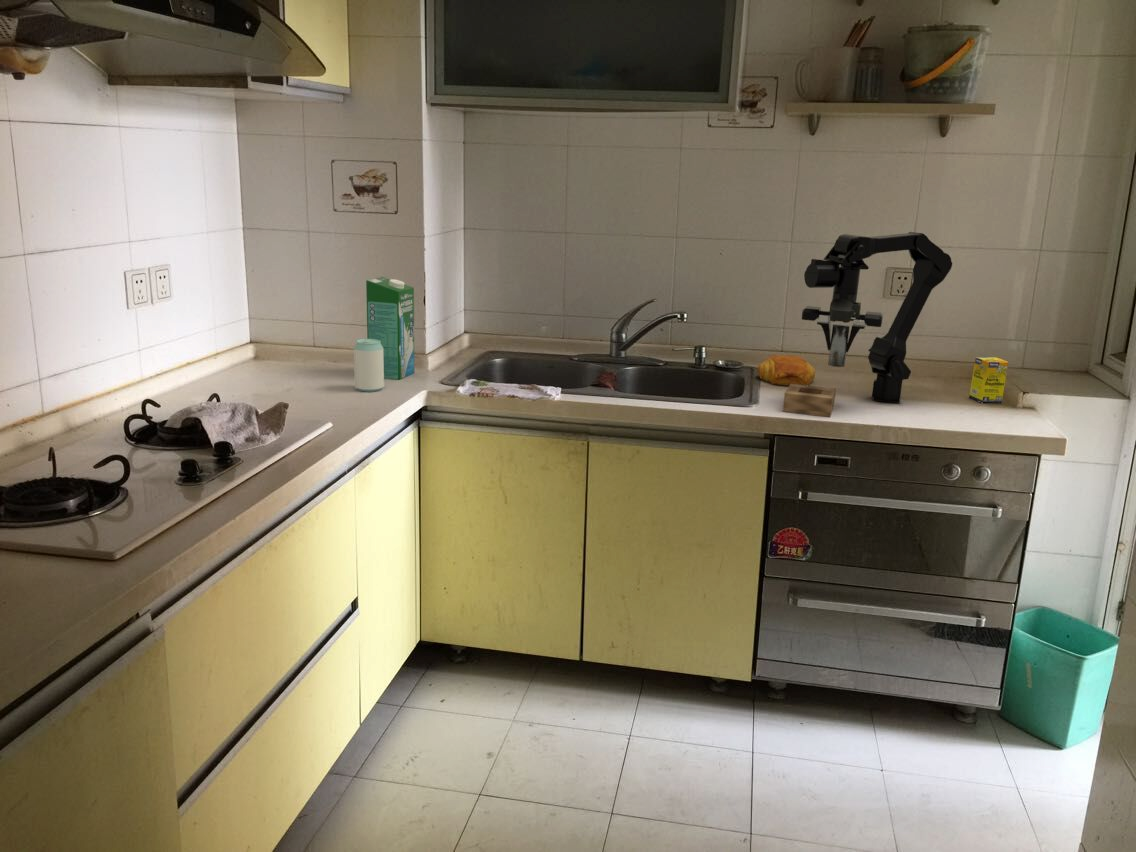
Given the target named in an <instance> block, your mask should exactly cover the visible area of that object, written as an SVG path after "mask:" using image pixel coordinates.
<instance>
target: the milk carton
mask: <svg viewBox="0 0 1136 852" xmlns="http://www.w3.org/2000/svg"><path fill="white" fill-rule="evenodd" d="M365 284H366V285H365V289H366V290H365V291H366V331H367V332H366V333H367V338H366V339H376V340H380V341H381V342H380V343H381V345H382V346H383V357H384V379H388V380H389V379H391V380H400V381H401V380H402V379H404V378H407V377H408V376H410V375H413V374H415V287H413V286H410V285H408V284H406V283H405V281H402V280H399V279H397V278H396V279H394V278H388V277H385V276H379V277H375V278H371V279H367V280H366V281H365Z"/></svg>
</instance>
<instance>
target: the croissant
mask: <svg viewBox="0 0 1136 852" xmlns="http://www.w3.org/2000/svg"><path fill="white" fill-rule="evenodd" d="M756 371H757V374H758V373H759V374H758V376H759V375H760V377H761V378H760V379H761V380H763V381H764V382H767V383H769V384H771V385H777V386H785V387H789V385H790V384H798V385H808V386H811V383H812V382H813V381H814V379H815V378H816V370H815V368H814V367H813V366H812V365H811V364H810V363H809V362H807V361H806V360H805V359H804V358H803V357H801V356H796V355H776V354H775V355H771V356H770V357H768V358H767V359H766V360H764V361H763V362H761V363H759V365H758V367H757V369H756Z"/></svg>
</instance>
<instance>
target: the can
mask: <svg viewBox="0 0 1136 852" xmlns="http://www.w3.org/2000/svg"><path fill="white" fill-rule="evenodd" d="M355 342H356V344H355V345H354V347H353V367H354V373H353V374H354V375H353V376H354V388H356V389H357V390H358V391H361V392H370V393H371V392H378V391H380V390H381V389H383V388H384V386H385V378H384V357H383V346H382V345H381V343H380V342H381V341H380V340H376V339H367V338H361V339H358V340H356V341H355Z"/></svg>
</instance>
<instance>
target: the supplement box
mask: <svg viewBox="0 0 1136 852" xmlns="http://www.w3.org/2000/svg"><path fill="white" fill-rule="evenodd" d="M1009 363H1010V362H1009V361H1007V360H1004V359H1002V358H1000V357H999V358H998V357H986V356H985V357H979V356H976V357H975V360H974V365H973V370H972V377H971V383H970V389H969V395H968V398H969V397H971V398H973V399H972V400H974V399H975V400H974V401H976V400H977V401H976V402H978V401H980V402H998V403H997V404H1001V403H1000V402H1003V396H1004V391H1005V386H1006V379H1007V374H1008V367H1009ZM971 398H970V399H971ZM980 402H979V403H980Z"/></svg>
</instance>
